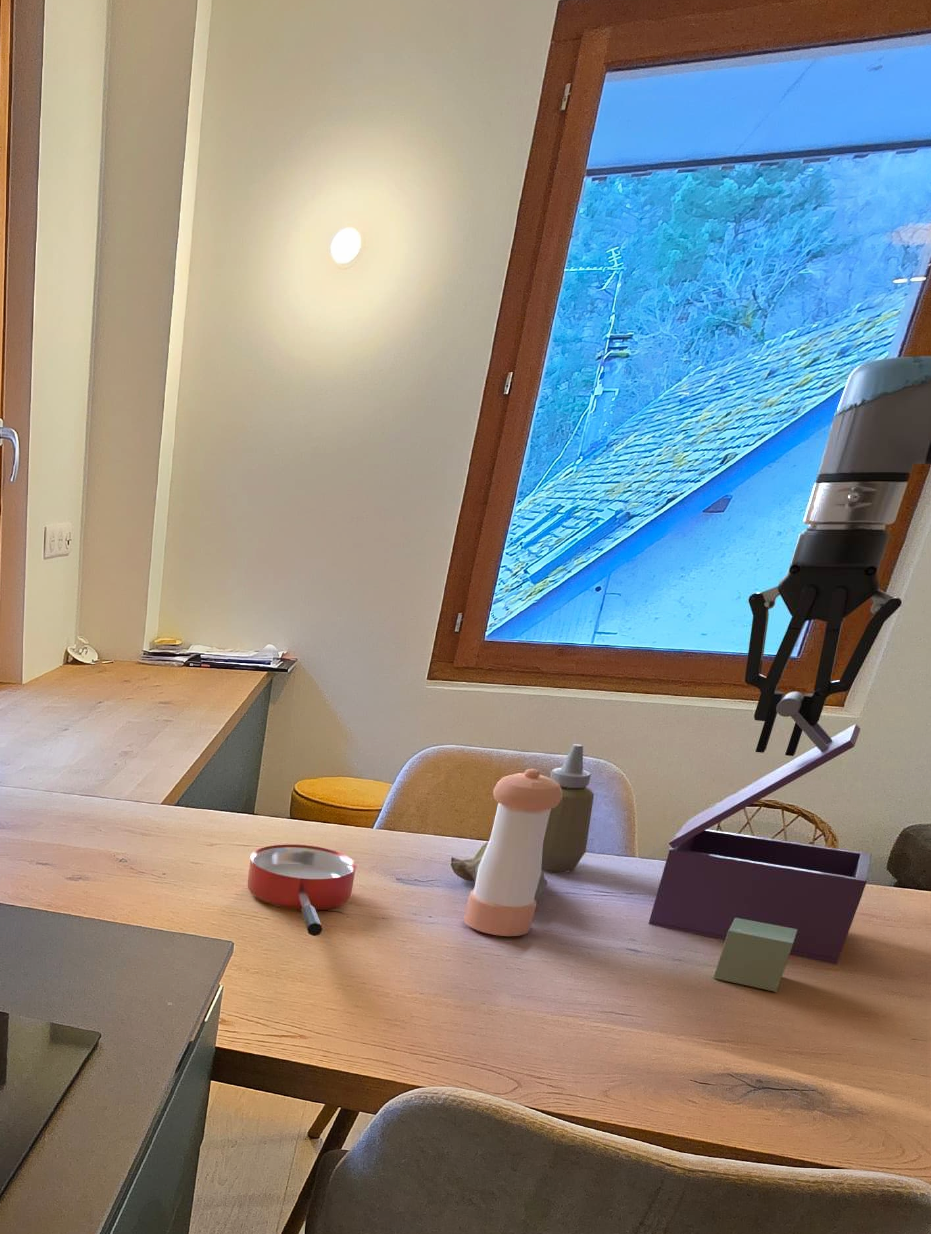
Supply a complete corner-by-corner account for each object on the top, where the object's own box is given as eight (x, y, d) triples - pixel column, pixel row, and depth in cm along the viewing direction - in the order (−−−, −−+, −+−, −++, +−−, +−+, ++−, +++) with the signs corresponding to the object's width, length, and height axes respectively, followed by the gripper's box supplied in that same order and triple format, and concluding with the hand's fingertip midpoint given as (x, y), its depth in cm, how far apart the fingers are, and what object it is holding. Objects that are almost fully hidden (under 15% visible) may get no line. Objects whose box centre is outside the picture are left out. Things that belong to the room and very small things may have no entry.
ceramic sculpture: (483, 846, 128) (454, 816, 142) (468, 912, 131) (442, 878, 145) (578, 851, 126) (539, 821, 139) (561, 919, 129) (525, 883, 143)
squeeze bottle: (581, 868, 148) (614, 742, 140) (576, 886, 142) (611, 755, 134) (517, 858, 152) (546, 735, 144) (510, 875, 146) (540, 747, 138)
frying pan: (393, 981, 114) (404, 927, 111) (270, 974, 116) (277, 921, 113) (340, 876, 142) (348, 832, 139) (242, 872, 144) (247, 828, 141)
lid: (860, 729, 119) (814, 675, 120) (854, 746, 109) (803, 688, 110) (691, 825, 132) (651, 776, 133) (672, 848, 122) (629, 795, 124)
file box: (842, 934, 125) (872, 853, 121) (835, 967, 115) (866, 881, 112) (666, 901, 136) (688, 826, 132) (646, 929, 126) (669, 849, 122)
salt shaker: (505, 941, 123) (543, 781, 114) (450, 920, 128) (483, 767, 120) (543, 928, 126) (583, 772, 117) (488, 908, 131) (522, 758, 123)
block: (781, 976, 113) (797, 929, 111) (776, 992, 109) (793, 943, 107) (720, 963, 116) (735, 917, 114) (713, 978, 112) (728, 930, 110)
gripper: (754, 527, 112) (691, 748, 121) (941, 528, 103) (858, 766, 112) (762, 527, 117) (701, 739, 126) (941, 528, 108) (861, 756, 117)
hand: (775, 751), depth 119 cm, fingers closed on lid, 2 cm apart
